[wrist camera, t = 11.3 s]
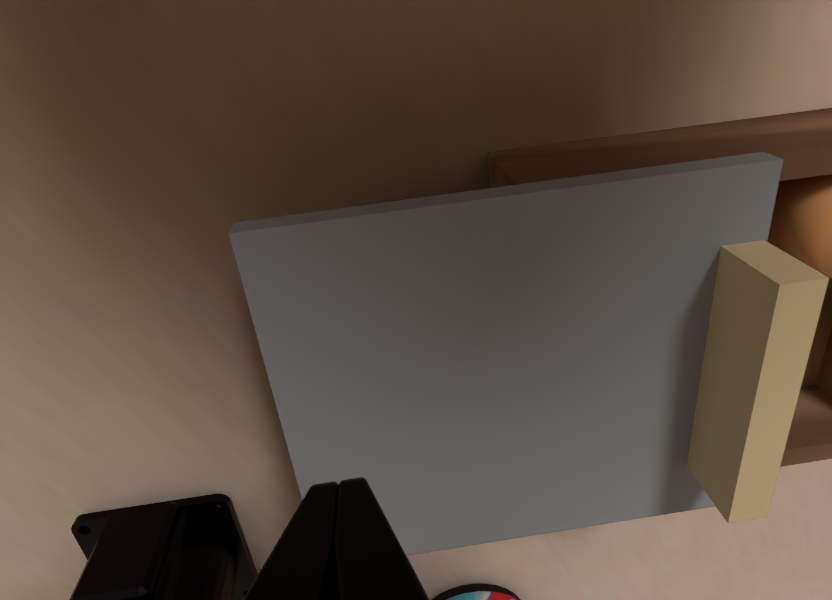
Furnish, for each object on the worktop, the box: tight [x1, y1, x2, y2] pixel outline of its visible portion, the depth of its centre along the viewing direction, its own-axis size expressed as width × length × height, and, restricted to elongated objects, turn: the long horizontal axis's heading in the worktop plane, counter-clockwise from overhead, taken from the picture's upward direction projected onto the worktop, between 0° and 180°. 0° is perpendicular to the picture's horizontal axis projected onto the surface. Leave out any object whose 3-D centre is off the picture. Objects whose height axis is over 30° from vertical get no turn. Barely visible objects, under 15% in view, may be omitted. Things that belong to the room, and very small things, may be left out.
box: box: [488, 108, 832, 467], centre depth 20 cm, size 12×14×4 cm
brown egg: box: [767, 174, 832, 278], centre depth 18 cm, size 3×3×3 cm
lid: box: [228, 152, 829, 555], centre depth 16 cm, size 12×14×3 cm
